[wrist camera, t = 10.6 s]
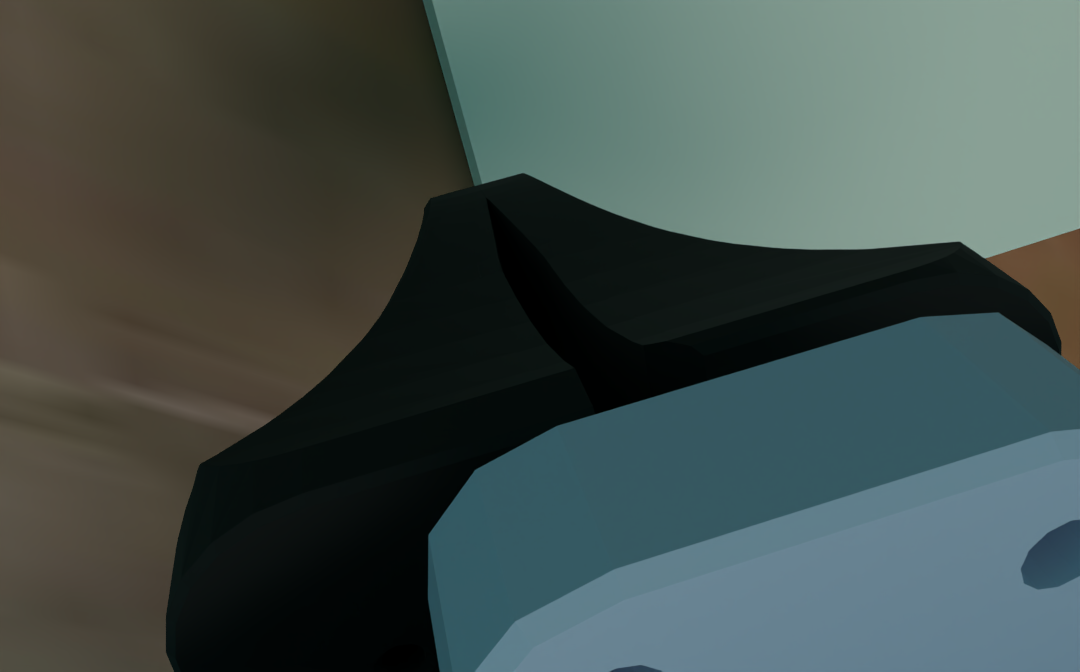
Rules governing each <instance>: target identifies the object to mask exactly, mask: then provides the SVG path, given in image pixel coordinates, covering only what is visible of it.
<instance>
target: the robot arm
mask: <svg viewBox="0 0 1080 672" xmlns="http://www.w3.org/2000/svg"><path fill="white" fill-rule="evenodd" d="M166 653H167V656H168V658H169V660H170V663H171V665H172V667H173V670H174V672H1080V370H1079V369H1078V368H1076V367H1075V366H1074V365H1072V364H1071V363H1070V362H1069V361H1067V360H1066V359H1065V358H1063V357H1062V356H1061V340H1060V337H1059V335H1058V332H1057V329H1056V326H1055V324H1054V321H1053V318H1052V315H1051V313H1050V312H1049V311H1048V310H1047V309H1046V307H1045V306H1044V305H1043V304H1042V303H1041V302H1040V301H1039V300H1038V299H1037V298H1036V297H1035V296H1034V295H1033V294H1032V293H1031V292H1030V290H1028V289H1027V288H1026V287H1024V286H1023V285H1021V284H1020V283H1018V282H1017V281H1016V280H1014V279H1013V278H1011V277H1010V276H1009V275H1007V274H1006V273H1004V272H1003V271H1002V270H1000V269H999V268H997V267H996V266H995V265H993V264H992V263H990V262H989V261H987V260H986V259H985V258H983V257H982V256H980V255H979V254H978V253H976V252H975V251H973V250H972V249H970V248H969V247H967V246H966V245H964V244H963V243H961V242H959V241H958V242H946V243H934V244H923V245H911V246H899V247H887V248H875V249H788V248H772V247H762V246H753V245H743V244H733V243H727V242H720V241H714V240H708V239H703V238H699V237H694V236H689V235H685V234H680V233H676V232H671V231H667V230H663V229H660V228H656V227H653V226H649V225H646V224H643V223H640V222H637V221H634V220H631V219H628V218H626V217H623V216H620V215H617V214H614V213H612V212H609V211H607V210H604V209H602V208H599V207H597V206H594V205H592V204H590V203H587V202H585V201H583V200H581V199H578V198H576V197H574V196H572V195H570V194H567V193H565V192H563V191H561V190H559V189H557V188H555V187H553V186H551V185H549V184H547V183H545V182H543V181H541V180H539V179H536V178H534V177H532V176H530V175H528V174H525V173H521V174H517V175H513V176H510V177H506V178H502V179H499V180H495V181H491V182H488V183H484V184H480V185H477V186H473V187H470V188H466V189H462V190H459V191H455V192H451V193H448V194H444V195H440V196H437V197H433V198H430V200H429V201H428V203H427V205H426V206H425V208H424V216H423V221H422V225H421V229H420V232H419V235H418V239H417V242H416V244H415V247H414V249H413V252H412V254H411V257H410V260H409V262H408V265H407V267H406V269H405V272H404V274H403V276H402V278H401V279H400V281H399V283H398V285H397V287H396V289H395V291H394V293H393V295H392V297H391V299H390V301H389V303H388V304H387V306H386V308H385V309H384V311H383V312H382V314H381V316H380V317H379V319H378V320H377V321H376V323H375V324H374V325H373V327H372V328H371V329H370V331H369V332H368V333H367V334H366V336H365V337H364V338H363V339H362V340H361V342H360V343H359V344H358V345H357V346H356V347H355V348H354V349H353V350H352V351H351V352H350V353H349V354H348V355H347V356H346V357H345V358H344V359H343V360H342V361H341V362H340V363H339V364H338V366H337V367H336V368H335V369H334V370H333V371H332V372H331V373H330V374H329V375H328V376H327V377H326V378H325V379H323V380H322V381H321V382H320V383H319V384H318V385H316V386H315V387H314V388H313V389H312V390H311V391H309V392H308V393H307V394H306V395H305V396H304V397H302V398H301V399H300V400H298V401H297V402H296V403H294V404H293V405H292V406H291V407H289V408H288V409H287V410H285V411H284V412H283V413H281V414H280V415H279V416H277V417H276V418H274V419H273V420H271V421H270V422H269V423H267V424H266V425H264V426H263V427H261V428H259V429H258V430H256V431H255V432H253V433H251V434H250V435H248V436H246V437H245V438H243V439H242V440H240V441H238V442H237V443H235V444H233V445H232V446H230V447H229V448H227V449H225V450H224V451H222V452H221V453H219V454H217V455H216V456H214V457H212V458H210V459H208V460H207V461H205V462H203V463H201V464H200V465H199V468H198V471H197V474H196V478H195V482H194V486H193V489H192V492H191V495H190V498H189V501H188V504H187V507H186V509H185V513H184V517H183V521H182V525H181V529H180V533H179V537H178V542H177V547H176V553H175V560H174V567H173V573H172V580H171V587H170V593H169V600H168V607H167V613H166Z"/></svg>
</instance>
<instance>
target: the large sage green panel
mask: <svg viewBox="0 0 1080 672" xmlns="http://www.w3.org/2000/svg"><path fill="white" fill-rule="evenodd" d="M423 3H424V7H425V11H426V14H427V18H428V21H429V25H430V28H431V32H432V36H433V39H434V43H435V46H436V50H437V54H438V57H439V61H440V64H441V68H442V71H443V75H444V79H445V82H446V86H447V89H448V93H449V97H450V100H451V104H452V107H453V111H454V114H455V118H456V122H457V125H458V129H459V132H460V136H461V140H462V143H463V147H464V150H465V154H466V158H467V161H468V165H469V168H470V172H471V175H472V179H473V183H474V186H477V185H480V184H484V183H488V182H491V181H495V180H499V179H502V178H506V177H510V176H513V175H517V174H521V173H525V174H528V175H530V176H532V177H534V178H536V179H539V180H541V181H543V182H545V183H547V184H549V185H551V186H553V187H555V188H557V189H559V190H561V191H563V192H565V193H567V194H570V195H572V196H574V197H576V198H578V199H581V200H583V201H585V202H587V203H590V204H592V205H594V206H597V207H599V208H602V209H604V210H607V211H609V212H612V213H614V214H617V215H620V216H623V217H626V218H628V219H631V220H634V221H637V222H640V223H643V224H646V225H649V226H653V227H656V228H660V229H663V230H667V231H671V232H676V233H680V234H685V235H689V236H694V237H699V238H703V239H708V240H714V241H720V242H727V243H733V244H743V245H753V246H762V247H772V248H788V249H875V248H887V247H899V246H911V245H923V244H934V243H946V242H958V241H959V242H961V243H963V244H964V245H966V246H967V247H969V248H970V249H972V250H973V251H975V252H976V253H978V254H979V255H980V256H982V257H983V258H988V257H991V256H994V255H997V254H1000V253H1004V252H1007V251H1010V250H1013V249H1016V248H1019V247H1022V246H1026V245H1029V244H1032V243H1035V242H1038V241H1041V240H1044V239H1048V238H1051V237H1054V236H1057V235H1060V234H1063V233H1066V232H1070V231H1073V230H1076V229H1079V228H1080V0H423Z"/></svg>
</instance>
